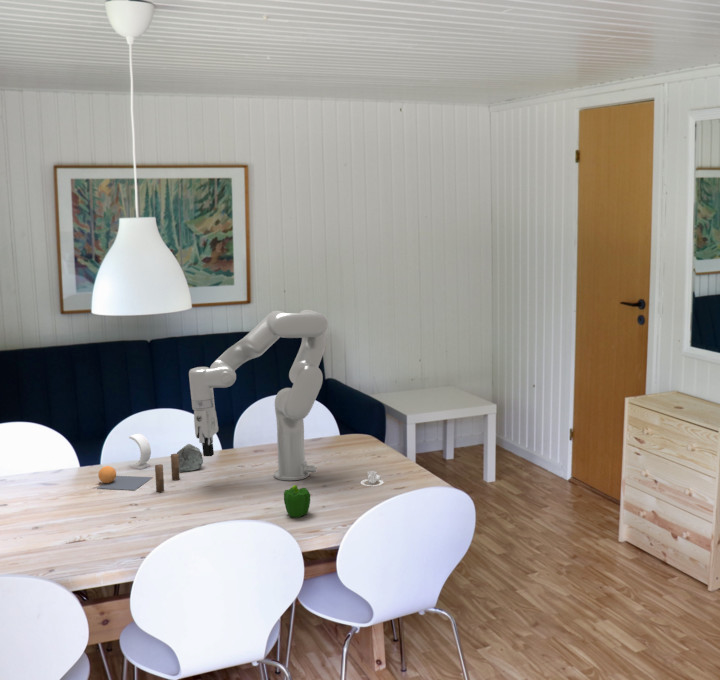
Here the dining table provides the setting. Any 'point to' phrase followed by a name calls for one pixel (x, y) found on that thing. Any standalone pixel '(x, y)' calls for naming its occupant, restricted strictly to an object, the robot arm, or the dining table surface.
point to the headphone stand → (142, 451)
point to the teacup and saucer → (372, 479)
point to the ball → (107, 474)
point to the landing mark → (125, 483)
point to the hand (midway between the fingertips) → (208, 455)
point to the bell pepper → (297, 501)
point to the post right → (175, 466)
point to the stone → (189, 458)
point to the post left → (159, 478)
